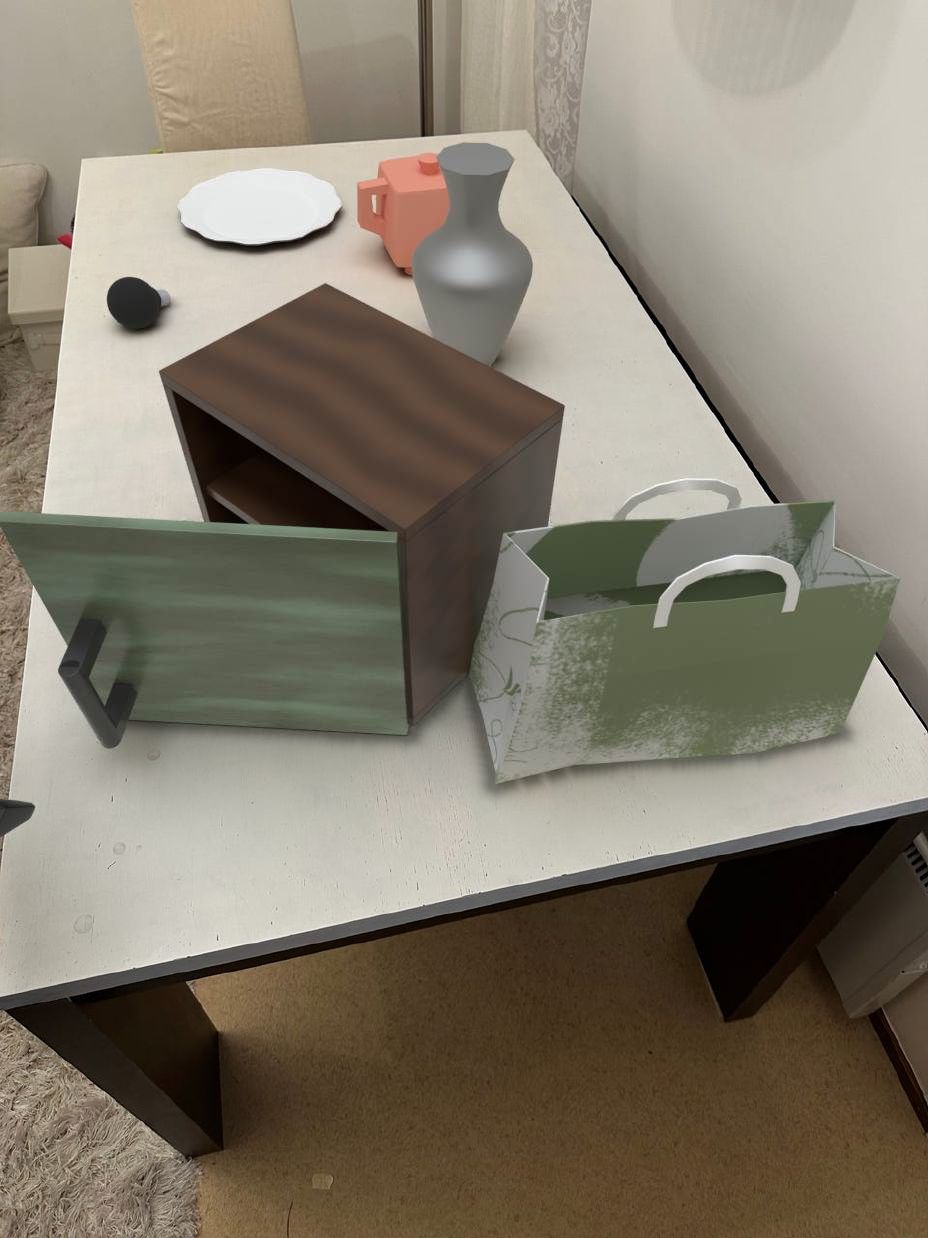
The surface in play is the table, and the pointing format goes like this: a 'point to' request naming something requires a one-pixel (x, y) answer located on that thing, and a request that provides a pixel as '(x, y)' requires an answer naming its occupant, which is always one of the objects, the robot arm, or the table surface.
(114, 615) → the green cabinet door
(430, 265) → the vase
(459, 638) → the wooden cabinet
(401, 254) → the teapot
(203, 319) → the table surface
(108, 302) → the light bulb
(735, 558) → the grocery bag
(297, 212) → the plate
